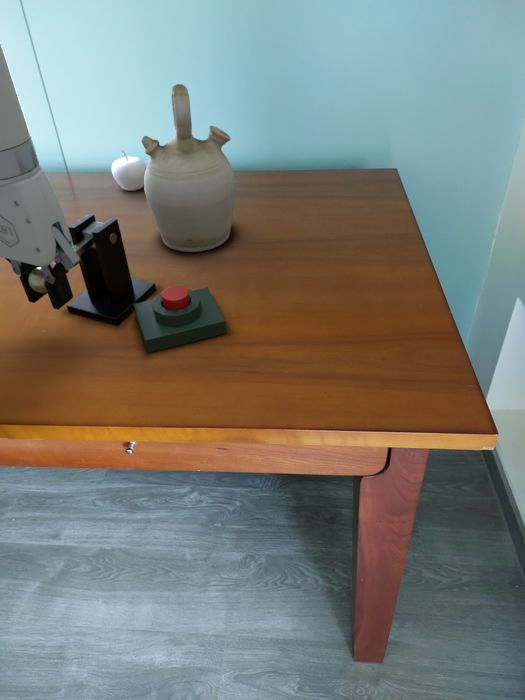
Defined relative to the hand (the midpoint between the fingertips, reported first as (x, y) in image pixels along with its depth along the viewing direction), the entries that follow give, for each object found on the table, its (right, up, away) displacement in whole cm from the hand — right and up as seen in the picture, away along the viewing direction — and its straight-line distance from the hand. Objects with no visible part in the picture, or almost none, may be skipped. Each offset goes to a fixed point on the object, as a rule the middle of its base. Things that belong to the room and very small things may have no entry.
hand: (51, 299), depth 68 cm
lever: (+2, +5, +2) cm, 6 cm away
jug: (+15, +14, +27) cm, 34 cm away
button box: (+16, -3, +6) cm, 17 cm away
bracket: (+5, +1, +12) cm, 13 cm away
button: (+16, 0, +4) cm, 16 cm away
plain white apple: (-1, +28, +45) cm, 53 cm away
